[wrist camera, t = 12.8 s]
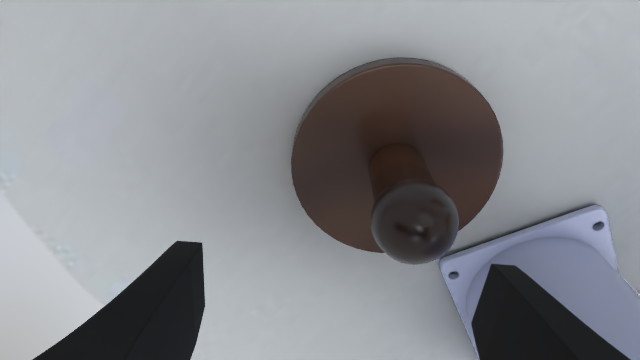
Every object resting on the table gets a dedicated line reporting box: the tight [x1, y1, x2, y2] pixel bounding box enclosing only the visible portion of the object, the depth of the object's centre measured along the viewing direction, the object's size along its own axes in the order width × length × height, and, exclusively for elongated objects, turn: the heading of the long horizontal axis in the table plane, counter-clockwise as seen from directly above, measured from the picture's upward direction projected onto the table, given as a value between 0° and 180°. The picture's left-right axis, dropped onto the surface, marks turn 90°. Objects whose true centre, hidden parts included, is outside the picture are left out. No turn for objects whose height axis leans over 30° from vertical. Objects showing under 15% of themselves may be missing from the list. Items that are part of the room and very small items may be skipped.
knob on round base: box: [291, 58, 503, 265], centre depth 17 cm, size 9×9×6 cm
